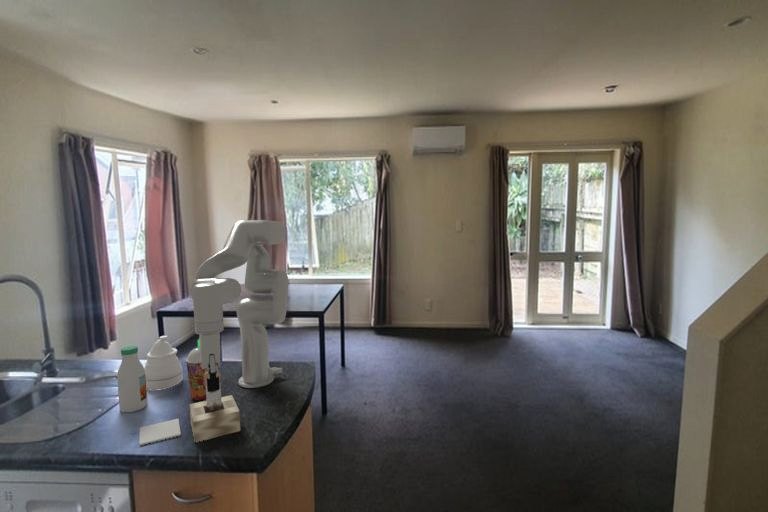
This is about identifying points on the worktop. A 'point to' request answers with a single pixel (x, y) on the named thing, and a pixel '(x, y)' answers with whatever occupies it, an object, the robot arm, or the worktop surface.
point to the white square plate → (159, 431)
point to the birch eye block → (214, 419)
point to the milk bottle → (131, 381)
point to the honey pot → (162, 366)
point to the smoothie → (196, 374)
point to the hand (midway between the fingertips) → (213, 386)
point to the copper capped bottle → (213, 396)
